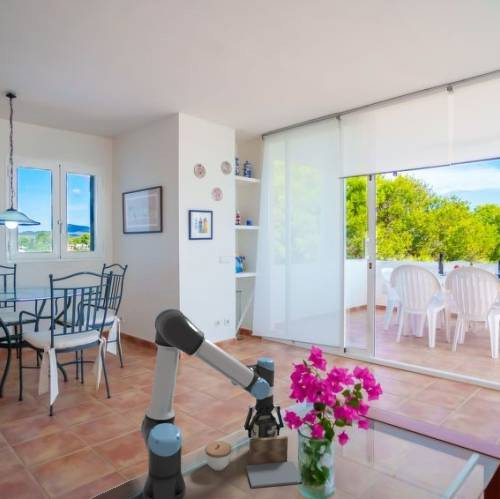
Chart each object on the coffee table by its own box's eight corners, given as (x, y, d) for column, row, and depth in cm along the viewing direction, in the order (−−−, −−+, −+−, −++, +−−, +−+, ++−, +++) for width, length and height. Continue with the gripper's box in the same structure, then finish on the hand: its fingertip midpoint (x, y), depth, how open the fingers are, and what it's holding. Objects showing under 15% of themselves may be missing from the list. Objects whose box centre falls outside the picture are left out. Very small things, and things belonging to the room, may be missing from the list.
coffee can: (279, 448, 177) (280, 417, 176) (267, 459, 168) (268, 426, 168) (259, 441, 183) (260, 411, 182) (246, 451, 174) (247, 419, 173)
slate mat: (251, 487, 150) (251, 485, 150) (245, 467, 162) (245, 465, 162) (302, 482, 153) (302, 480, 153) (292, 463, 166) (292, 461, 166)
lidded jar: (219, 477, 155) (219, 454, 155) (199, 467, 162) (199, 444, 161) (236, 465, 164) (237, 442, 163) (217, 455, 170) (217, 434, 170)
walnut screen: (249, 464, 164) (250, 440, 164) (249, 462, 166) (249, 438, 165) (287, 461, 167) (287, 438, 167) (286, 459, 169) (286, 436, 168)
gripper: (240, 398, 168) (239, 450, 170) (292, 396, 173) (290, 446, 174) (238, 391, 176) (236, 441, 177) (287, 389, 180) (285, 437, 181)
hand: (263, 443), depth 175 cm, fingers closed on coffee can, 10 cm apart
